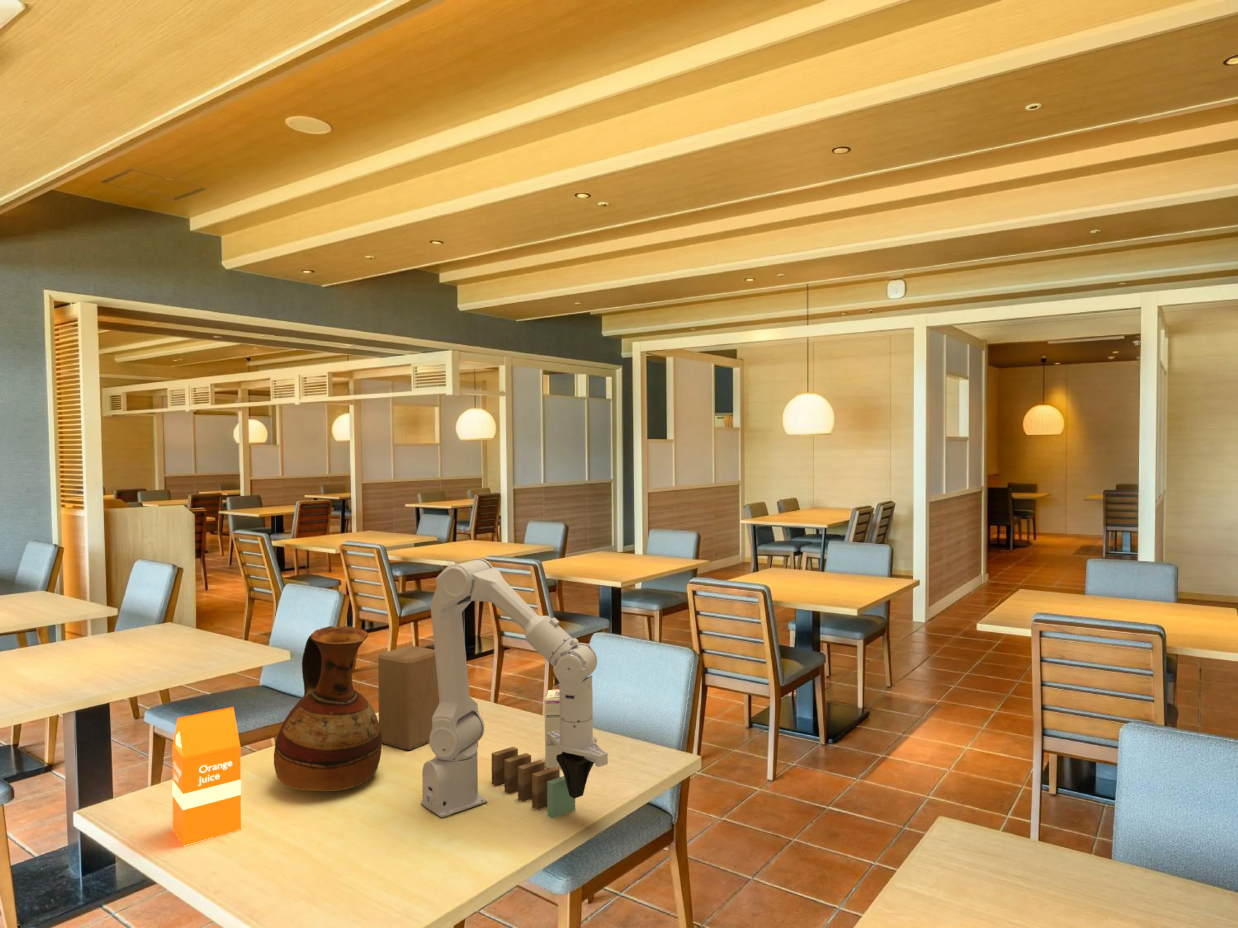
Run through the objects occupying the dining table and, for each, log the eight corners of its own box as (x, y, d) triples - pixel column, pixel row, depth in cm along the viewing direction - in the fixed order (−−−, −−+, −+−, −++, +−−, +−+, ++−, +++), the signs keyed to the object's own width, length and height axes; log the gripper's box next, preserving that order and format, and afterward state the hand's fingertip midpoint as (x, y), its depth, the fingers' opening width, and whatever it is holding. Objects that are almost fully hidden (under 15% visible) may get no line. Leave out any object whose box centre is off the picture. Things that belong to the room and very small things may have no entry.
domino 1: (496, 786, 148) (496, 755, 148) (491, 783, 150) (491, 752, 150) (518, 779, 152) (517, 748, 152) (513, 776, 153) (513, 746, 153)
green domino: (552, 818, 135) (552, 784, 135) (547, 815, 136) (547, 781, 136) (575, 809, 138) (575, 776, 138) (569, 806, 139) (569, 773, 139)
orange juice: (241, 829, 131) (240, 711, 131) (183, 847, 125) (182, 723, 125) (228, 814, 137) (227, 701, 137) (172, 830, 131) (171, 712, 131)
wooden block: (442, 738, 175) (442, 649, 175) (408, 752, 166) (408, 658, 166) (411, 730, 180) (410, 643, 180) (376, 743, 171) (376, 653, 171)
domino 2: (509, 793, 145) (509, 761, 145) (504, 791, 146) (504, 759, 146) (531, 786, 148) (531, 755, 148) (526, 783, 150) (526, 752, 150)
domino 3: (523, 801, 142) (522, 768, 142) (518, 798, 143) (517, 766, 143) (545, 793, 145) (545, 761, 145) (540, 791, 146) (540, 759, 146)
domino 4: (537, 809, 138) (537, 776, 138) (532, 806, 139) (532, 773, 139) (559, 801, 142) (559, 768, 142) (554, 798, 143) (554, 766, 143)
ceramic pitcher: (311, 813, 137) (310, 644, 137) (252, 785, 149) (252, 630, 149) (402, 777, 153) (402, 625, 153) (343, 754, 165) (342, 614, 165)
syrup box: (573, 768, 157) (573, 697, 157) (544, 768, 157) (544, 697, 157) (575, 758, 162) (575, 688, 162) (547, 757, 163) (547, 688, 162)
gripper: (621, 722, 131) (621, 802, 131) (568, 702, 142) (568, 776, 142) (588, 731, 126) (589, 815, 126) (537, 710, 137) (537, 787, 137)
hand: (576, 795), depth 134 cm, fingers closed
